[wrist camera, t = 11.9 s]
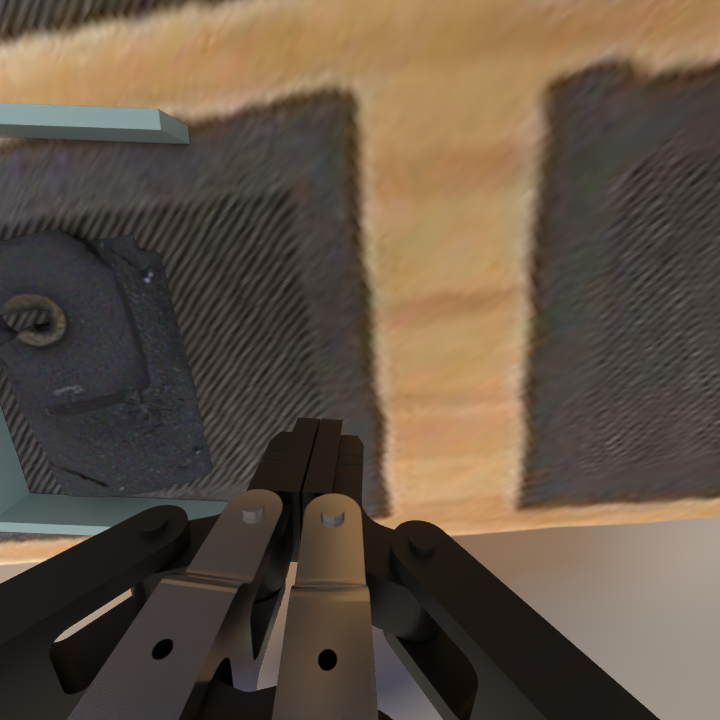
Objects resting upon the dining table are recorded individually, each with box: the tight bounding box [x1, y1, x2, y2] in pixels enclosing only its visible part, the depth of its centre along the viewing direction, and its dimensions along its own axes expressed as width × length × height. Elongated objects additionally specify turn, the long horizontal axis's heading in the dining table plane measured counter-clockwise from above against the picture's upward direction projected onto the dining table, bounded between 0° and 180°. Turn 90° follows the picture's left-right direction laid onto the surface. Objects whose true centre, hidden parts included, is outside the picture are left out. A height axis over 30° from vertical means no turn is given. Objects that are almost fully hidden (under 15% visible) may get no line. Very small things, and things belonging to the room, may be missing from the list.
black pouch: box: [0, 229, 212, 498], centre depth 28 cm, size 15×22×5 cm
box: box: [0, 103, 229, 535], centre depth 27 cm, size 31×20×4 cm, turn 178°
